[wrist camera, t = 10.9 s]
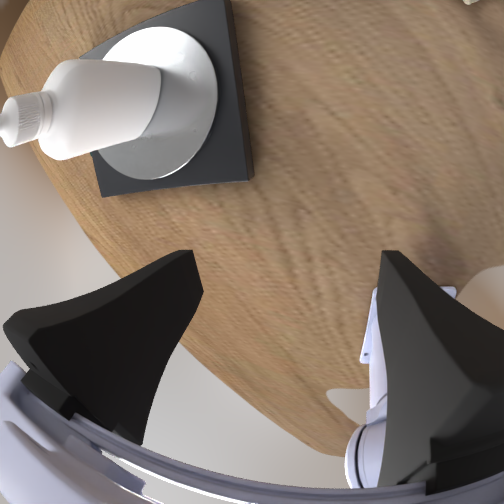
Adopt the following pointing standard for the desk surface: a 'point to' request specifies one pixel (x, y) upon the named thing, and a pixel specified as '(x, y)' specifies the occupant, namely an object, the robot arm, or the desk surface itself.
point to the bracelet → (469, 1)
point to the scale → (229, 115)
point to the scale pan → (168, 103)
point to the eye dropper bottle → (84, 107)
